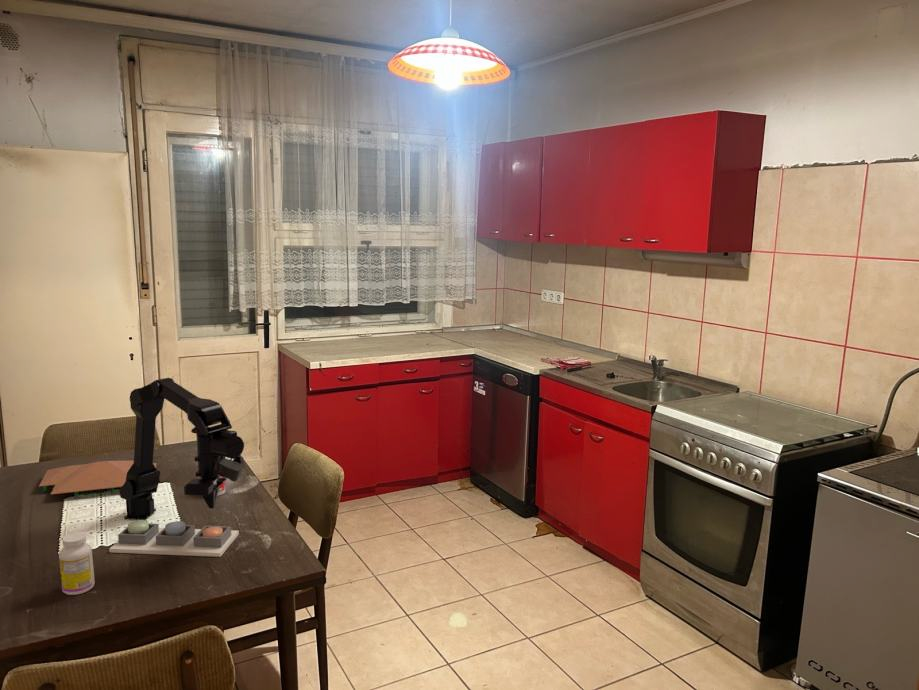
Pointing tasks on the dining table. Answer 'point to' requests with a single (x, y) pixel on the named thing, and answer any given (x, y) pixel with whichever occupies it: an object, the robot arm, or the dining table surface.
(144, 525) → the sage button
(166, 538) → the button panel
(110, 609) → the dining table surface
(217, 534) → the terracotta button
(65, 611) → the dining table surface
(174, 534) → the slate blue button
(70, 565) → the supplement bottle
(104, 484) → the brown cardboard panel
